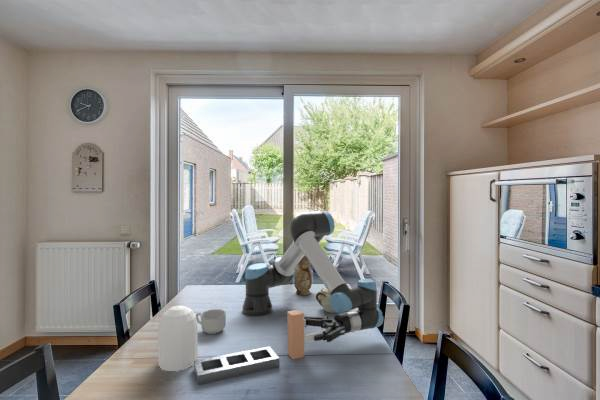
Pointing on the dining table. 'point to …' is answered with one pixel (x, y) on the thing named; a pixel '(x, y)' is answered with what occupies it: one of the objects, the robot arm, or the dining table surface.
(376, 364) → the dining table surface
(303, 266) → the vase
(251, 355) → the rail
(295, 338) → the post
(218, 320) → the teacup
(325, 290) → the sugar bowl
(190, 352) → the container
